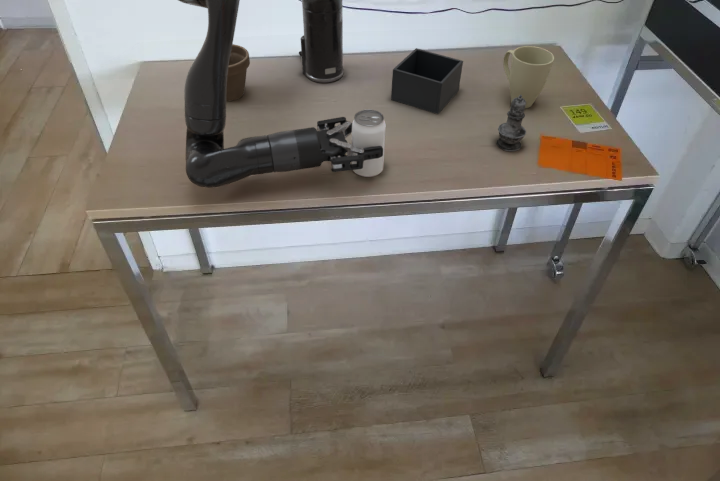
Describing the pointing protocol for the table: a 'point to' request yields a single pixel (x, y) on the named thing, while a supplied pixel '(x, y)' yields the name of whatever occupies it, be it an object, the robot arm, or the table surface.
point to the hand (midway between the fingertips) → (376, 138)
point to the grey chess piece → (513, 126)
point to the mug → (527, 72)
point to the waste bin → (426, 80)
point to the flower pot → (237, 72)
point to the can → (369, 139)
